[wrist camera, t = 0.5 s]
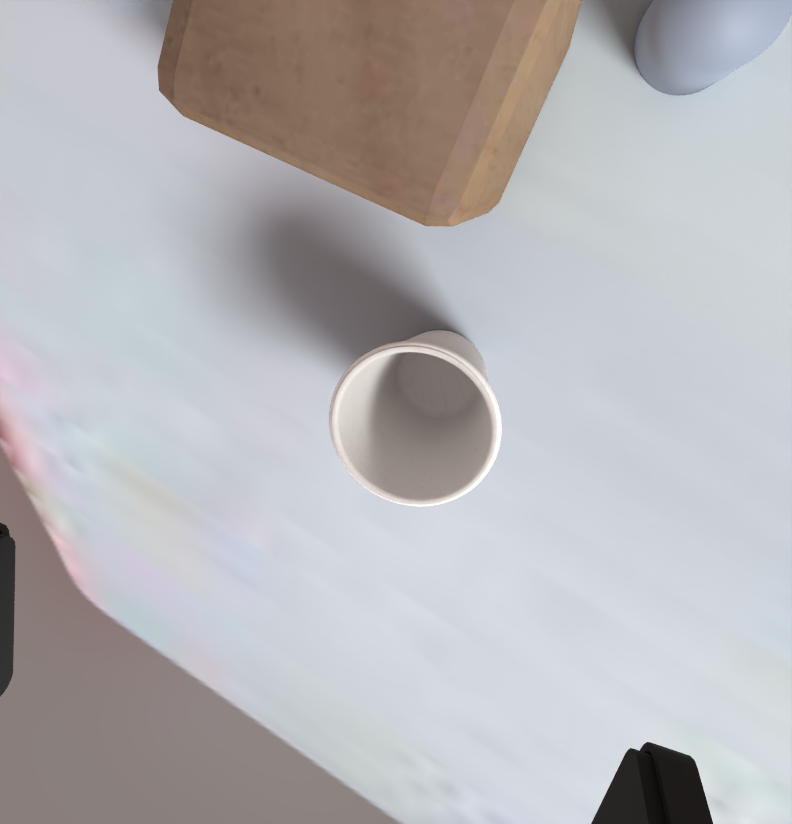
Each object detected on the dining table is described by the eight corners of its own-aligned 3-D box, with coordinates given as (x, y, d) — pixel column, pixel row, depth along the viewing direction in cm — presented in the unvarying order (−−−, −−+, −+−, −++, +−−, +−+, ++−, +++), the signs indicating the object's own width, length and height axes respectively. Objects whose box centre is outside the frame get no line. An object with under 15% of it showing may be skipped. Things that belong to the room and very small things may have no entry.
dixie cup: (495, 295, 38) (485, 328, 29) (517, 429, 40) (514, 499, 31) (361, 320, 40) (309, 357, 31) (388, 446, 42) (349, 516, 33)
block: (332, 147, 37) (134, 97, 18) (400, -46, 33) (237, -351, 15) (491, 219, 37) (452, 242, 18) (577, 31, 33) (639, -184, 14)
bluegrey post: (711, -43, 31) (760, -107, 24) (760, 51, 32) (820, 14, 25) (615, 28, 33) (637, -14, 26) (664, 116, 33) (696, 97, 27)
